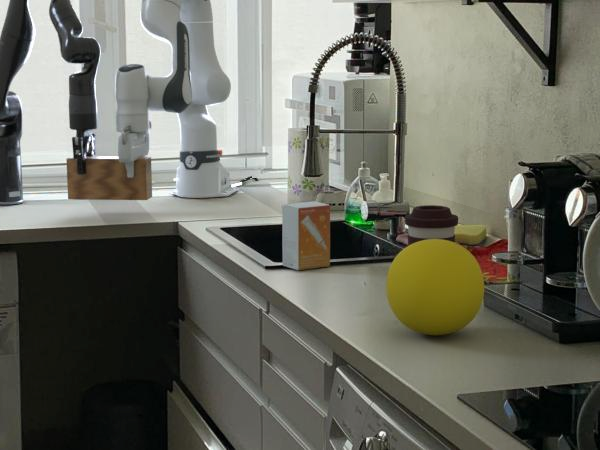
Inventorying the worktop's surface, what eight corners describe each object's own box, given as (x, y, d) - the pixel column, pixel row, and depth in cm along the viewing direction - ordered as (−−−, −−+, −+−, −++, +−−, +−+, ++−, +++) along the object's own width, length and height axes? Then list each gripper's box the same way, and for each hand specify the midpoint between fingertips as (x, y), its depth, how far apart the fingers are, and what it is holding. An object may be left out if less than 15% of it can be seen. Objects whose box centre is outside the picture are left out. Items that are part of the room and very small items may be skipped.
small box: (298, 271, 212) (298, 207, 210) (281, 266, 217) (281, 204, 215) (331, 266, 217) (330, 204, 214) (314, 261, 222) (313, 200, 220)
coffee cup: (400, 280, 202) (400, 204, 200) (450, 279, 203) (451, 203, 201) (409, 292, 193) (410, 212, 190) (462, 291, 193) (463, 211, 191)
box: (67, 199, 286) (66, 158, 284) (74, 196, 292) (73, 156, 290) (146, 200, 284) (145, 158, 282) (152, 197, 290) (151, 156, 288)
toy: (452, 317, 175) (453, 228, 172) (500, 340, 161) (502, 244, 158) (370, 326, 170) (371, 235, 167) (413, 350, 156) (414, 252, 153)
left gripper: (88, 113, 277) (91, 176, 280) (103, 110, 291) (106, 170, 294) (61, 113, 278) (63, 176, 280) (77, 110, 292) (80, 169, 295)
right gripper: (134, 127, 273) (136, 180, 275) (152, 122, 293) (154, 171, 296) (110, 127, 274) (113, 180, 276) (130, 122, 294) (132, 171, 296)
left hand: (85, 172), depth 287 cm, fingers closed on box, 6 cm apart
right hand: (134, 175), depth 286 cm, fingers closed on box, 6 cm apart
